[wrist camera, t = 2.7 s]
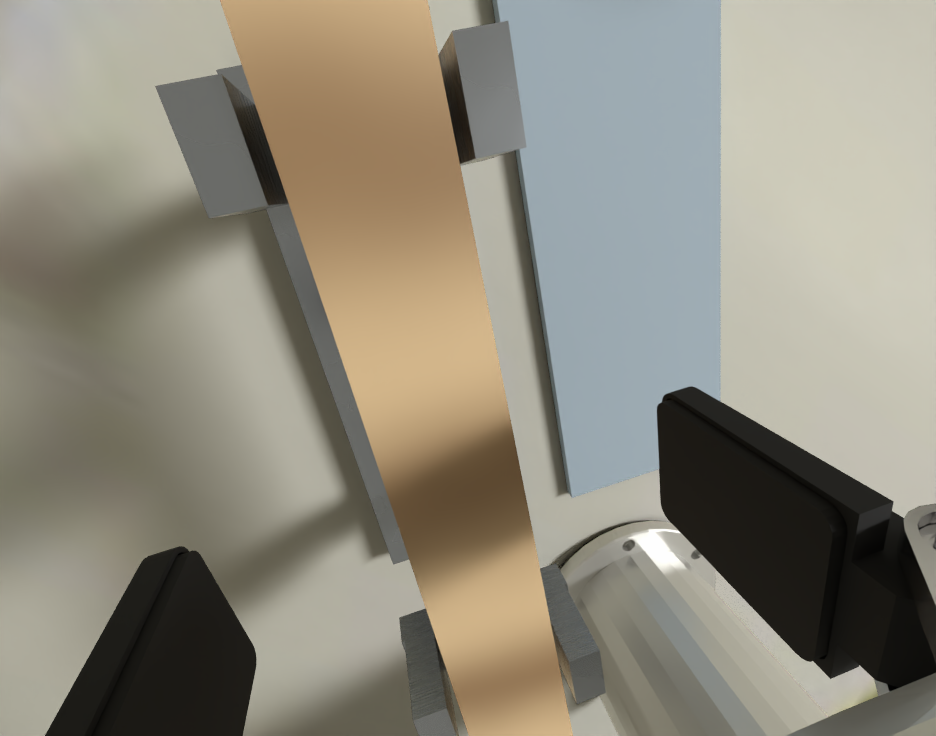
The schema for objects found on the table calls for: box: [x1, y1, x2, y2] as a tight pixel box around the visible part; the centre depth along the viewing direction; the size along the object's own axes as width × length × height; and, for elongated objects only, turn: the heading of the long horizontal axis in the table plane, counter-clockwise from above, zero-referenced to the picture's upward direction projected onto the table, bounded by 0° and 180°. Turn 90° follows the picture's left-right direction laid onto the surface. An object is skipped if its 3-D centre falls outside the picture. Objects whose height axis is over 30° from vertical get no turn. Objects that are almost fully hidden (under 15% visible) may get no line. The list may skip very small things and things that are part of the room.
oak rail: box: [220, 0, 573, 736], centre depth 12 cm, size 22×3×3 cm, turn 12°
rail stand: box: [155, 21, 606, 736], centre depth 17 cm, size 24×8×13 cm, turn 12°
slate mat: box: [492, 0, 721, 498], centre depth 23 cm, size 28×10×1 cm, turn 12°
